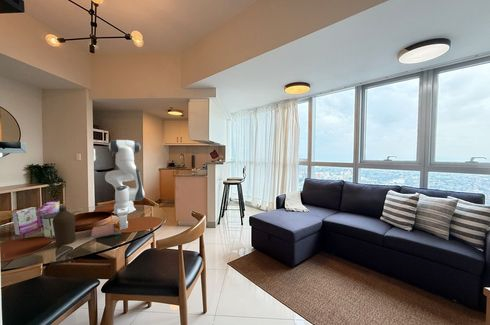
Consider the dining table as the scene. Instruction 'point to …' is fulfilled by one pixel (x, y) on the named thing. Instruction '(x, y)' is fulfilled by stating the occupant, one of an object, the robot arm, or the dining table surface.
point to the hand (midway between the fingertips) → (124, 226)
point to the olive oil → (64, 227)
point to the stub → (125, 226)
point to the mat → (104, 235)
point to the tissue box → (49, 224)
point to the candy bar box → (25, 220)
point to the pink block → (103, 230)
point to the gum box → (47, 210)
